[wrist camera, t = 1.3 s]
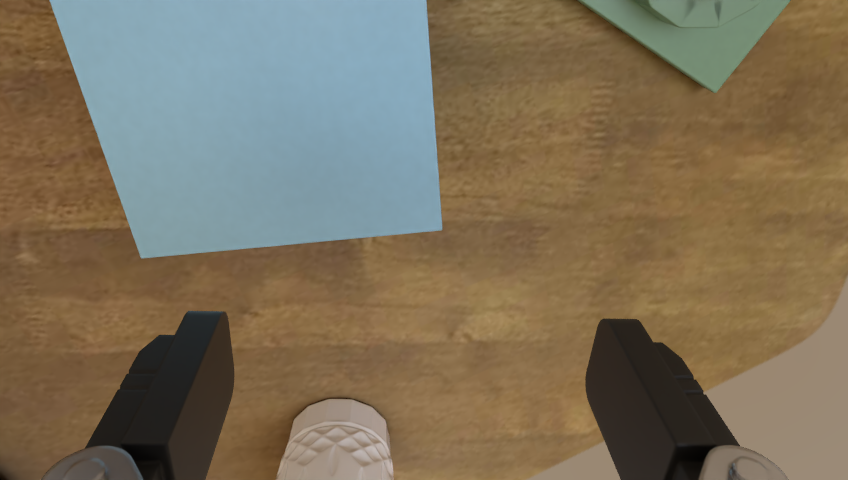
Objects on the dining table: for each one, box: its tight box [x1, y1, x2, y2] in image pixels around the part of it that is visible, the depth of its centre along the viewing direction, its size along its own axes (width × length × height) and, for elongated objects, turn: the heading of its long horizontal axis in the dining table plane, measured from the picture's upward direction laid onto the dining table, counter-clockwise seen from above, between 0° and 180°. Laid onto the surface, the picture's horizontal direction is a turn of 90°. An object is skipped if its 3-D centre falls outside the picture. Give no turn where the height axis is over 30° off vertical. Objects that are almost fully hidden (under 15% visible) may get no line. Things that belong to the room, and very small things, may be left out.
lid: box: [50, 0, 442, 258], centre depth 18 cm, size 14×12×6 cm
